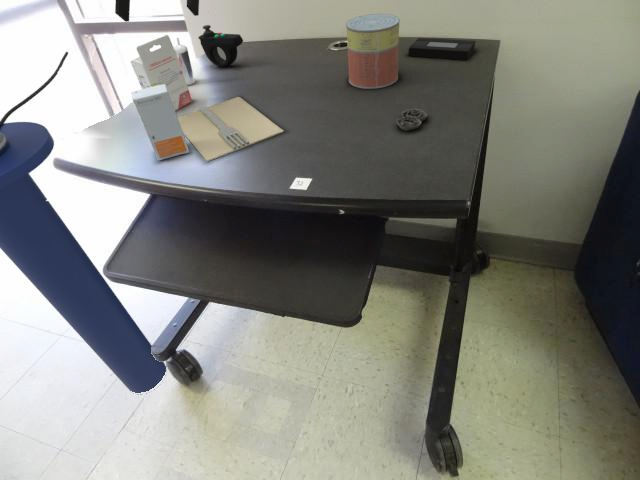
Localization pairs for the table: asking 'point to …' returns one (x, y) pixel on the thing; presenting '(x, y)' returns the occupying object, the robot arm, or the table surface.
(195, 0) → the robot arm
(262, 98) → the table surface
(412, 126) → the corroded twin loop
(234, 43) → the controller
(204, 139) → the placemat
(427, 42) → the vhs tape
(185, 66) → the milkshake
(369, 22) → the canned food
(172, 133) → the cosmetic box
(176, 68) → the ink cartridge box
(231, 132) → the fork
